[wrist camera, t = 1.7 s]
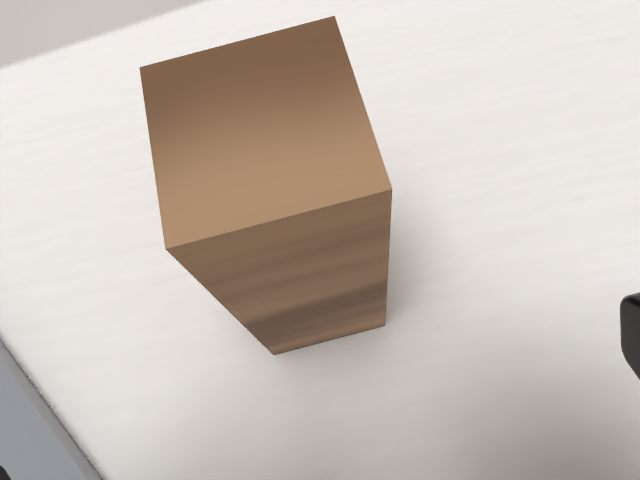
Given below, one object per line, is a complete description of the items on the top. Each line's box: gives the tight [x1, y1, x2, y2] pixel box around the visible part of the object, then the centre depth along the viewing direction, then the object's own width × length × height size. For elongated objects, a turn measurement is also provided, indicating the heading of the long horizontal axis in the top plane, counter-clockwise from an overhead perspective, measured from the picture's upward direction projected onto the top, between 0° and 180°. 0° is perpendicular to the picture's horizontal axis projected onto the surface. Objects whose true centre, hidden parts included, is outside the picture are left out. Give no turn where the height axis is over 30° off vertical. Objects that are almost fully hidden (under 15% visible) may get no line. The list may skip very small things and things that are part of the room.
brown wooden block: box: [140, 16, 392, 355], centre depth 16 cm, size 4×4×11 cm
